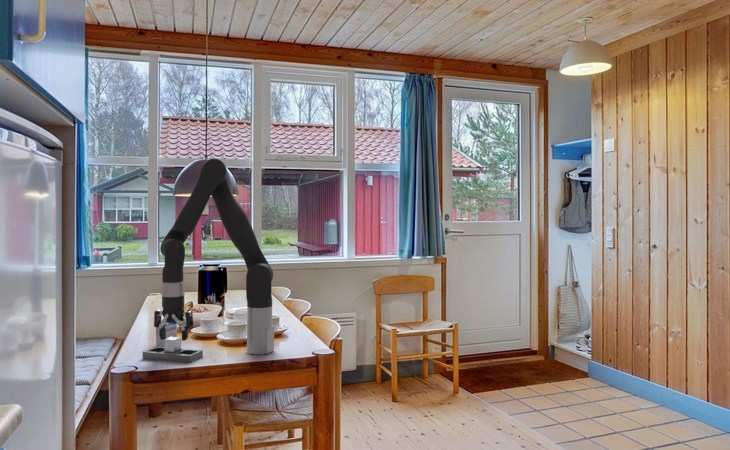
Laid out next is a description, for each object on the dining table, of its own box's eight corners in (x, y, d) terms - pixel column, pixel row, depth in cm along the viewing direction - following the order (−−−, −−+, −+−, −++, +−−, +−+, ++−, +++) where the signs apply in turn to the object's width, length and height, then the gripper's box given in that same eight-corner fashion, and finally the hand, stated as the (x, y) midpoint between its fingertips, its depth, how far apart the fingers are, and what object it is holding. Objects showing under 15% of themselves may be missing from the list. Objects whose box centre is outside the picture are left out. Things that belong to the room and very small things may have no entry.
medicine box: (165, 347, 198) (165, 324, 198) (155, 346, 199) (155, 324, 199) (177, 342, 206) (177, 320, 206) (167, 341, 207) (167, 320, 207)
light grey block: (181, 356, 185) (181, 337, 185) (174, 359, 181) (174, 340, 181) (171, 355, 186) (171, 336, 186) (164, 358, 182) (164, 339, 182)
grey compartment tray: (202, 356, 185) (202, 350, 185) (189, 362, 177) (189, 356, 177) (156, 352, 190) (156, 346, 190) (142, 358, 182) (142, 351, 182)
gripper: (196, 293, 185) (197, 338, 185) (162, 292, 188) (162, 336, 188) (184, 296, 178) (185, 343, 178) (148, 295, 181) (149, 341, 181)
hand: (173, 339), depth 183 cm, fingers open, 8 cm apart
